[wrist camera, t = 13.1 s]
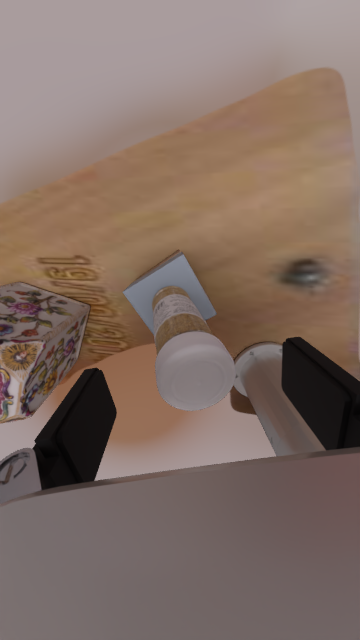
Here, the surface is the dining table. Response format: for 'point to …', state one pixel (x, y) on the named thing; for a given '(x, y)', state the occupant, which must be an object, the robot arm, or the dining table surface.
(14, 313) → the decorative jar
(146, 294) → the slate top block
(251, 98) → the dining table surface
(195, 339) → the sprinkles bottle
